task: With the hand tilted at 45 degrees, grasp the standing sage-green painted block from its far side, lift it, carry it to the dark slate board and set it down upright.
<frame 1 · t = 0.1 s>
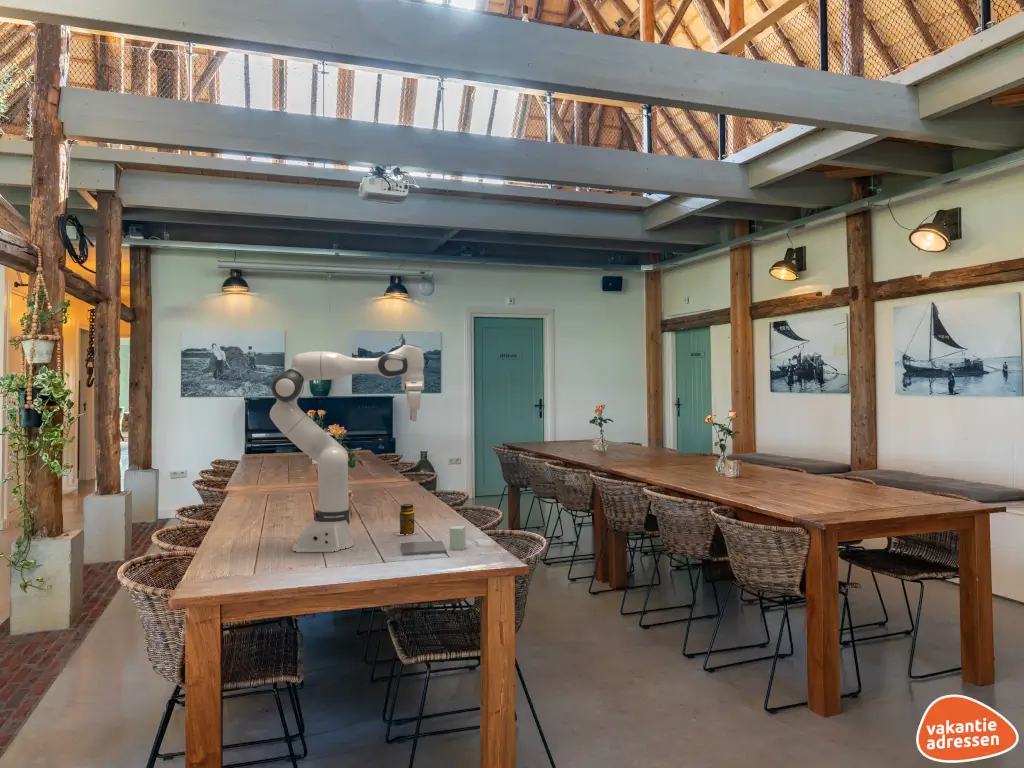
hand: (413, 420, 273), 48 cm above the table, tool pointing down, fingers open, 8 cm apart
condiment: (405, 534, 288), on the table
board: (422, 549, 260), on the table
block: (457, 548, 261), on the table
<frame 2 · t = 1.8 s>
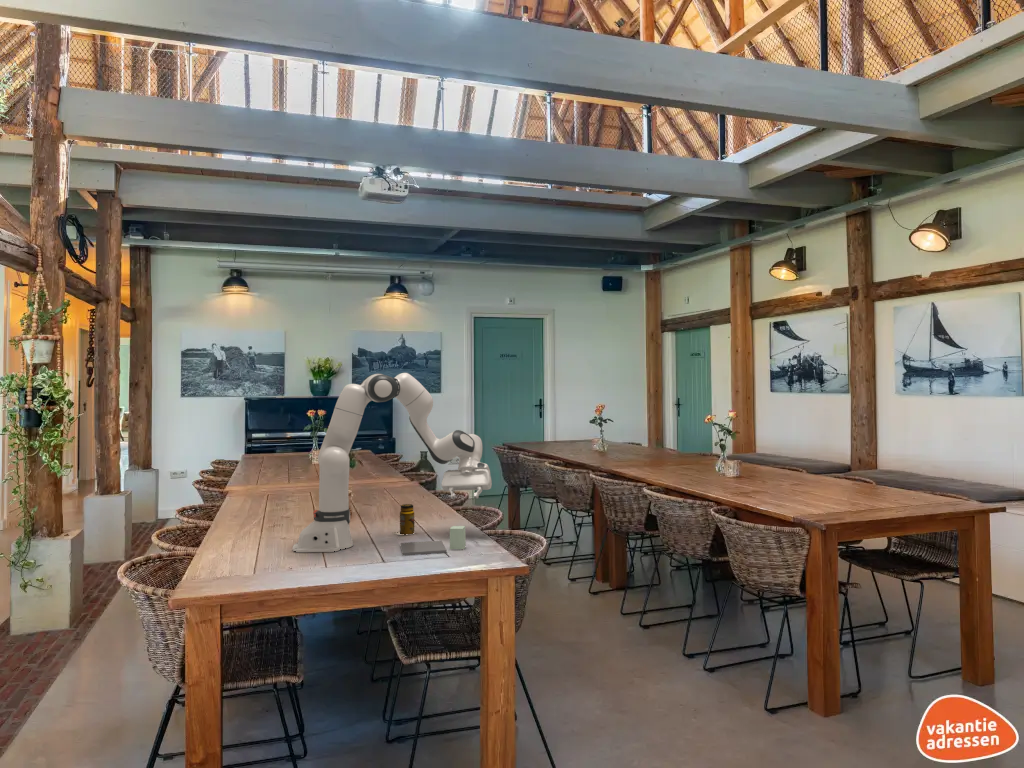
hand: (464, 497, 273), 17 cm above the table, tool tilted 45°, fingers open, 8 cm apart
nothing on the table moved.
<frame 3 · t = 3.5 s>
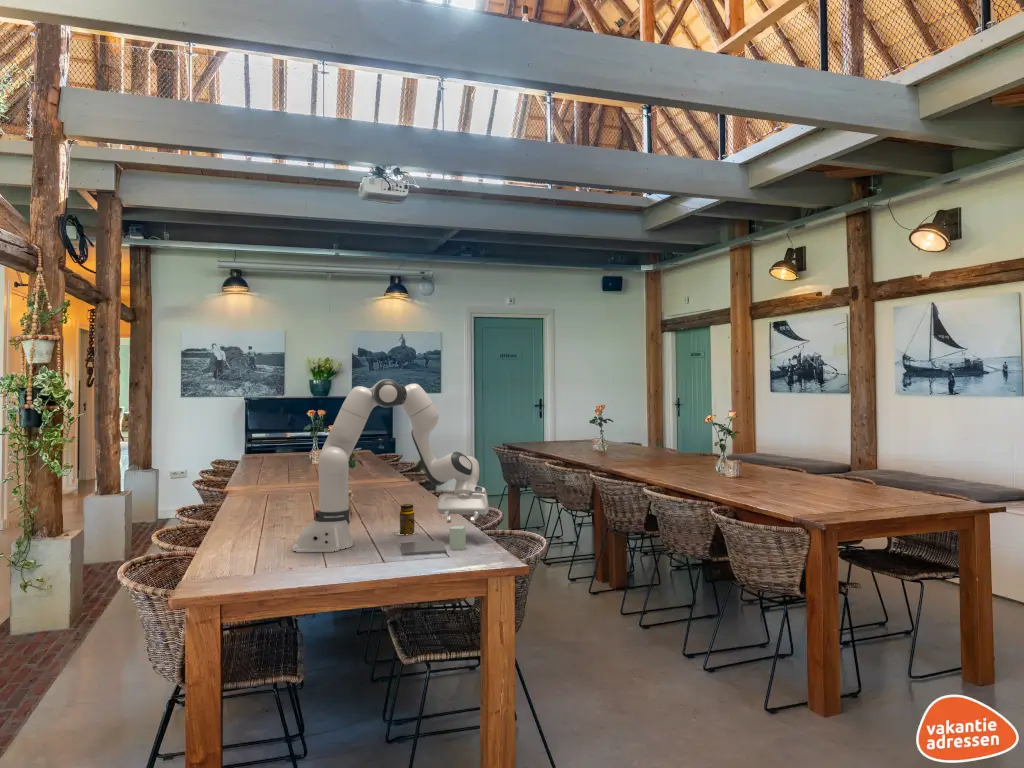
hand: (460, 522, 266), 9 cm above the table, tool tilted 45°, fingers open, 8 cm apart
nothing on the table moved.
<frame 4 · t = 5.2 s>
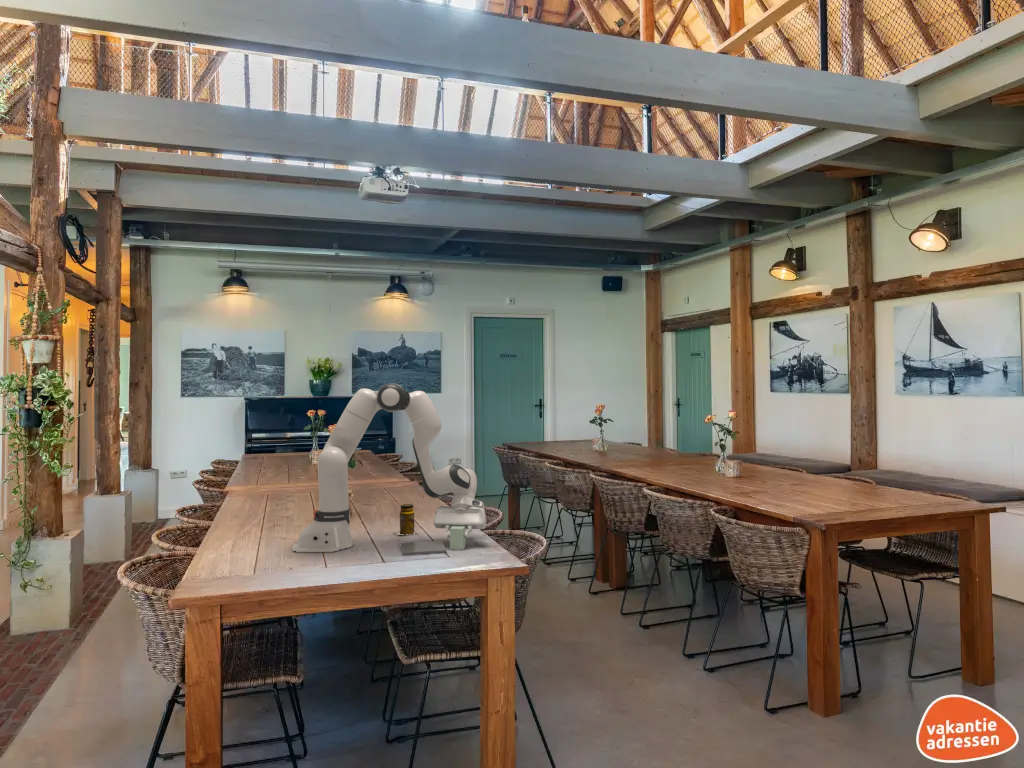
hand: (457, 537, 261), 4 cm above the table, tool tilted 45°, fingers closed on block, 5 cm apart
block: (457, 548, 261), on the table, touching gripper
everything else where it was.
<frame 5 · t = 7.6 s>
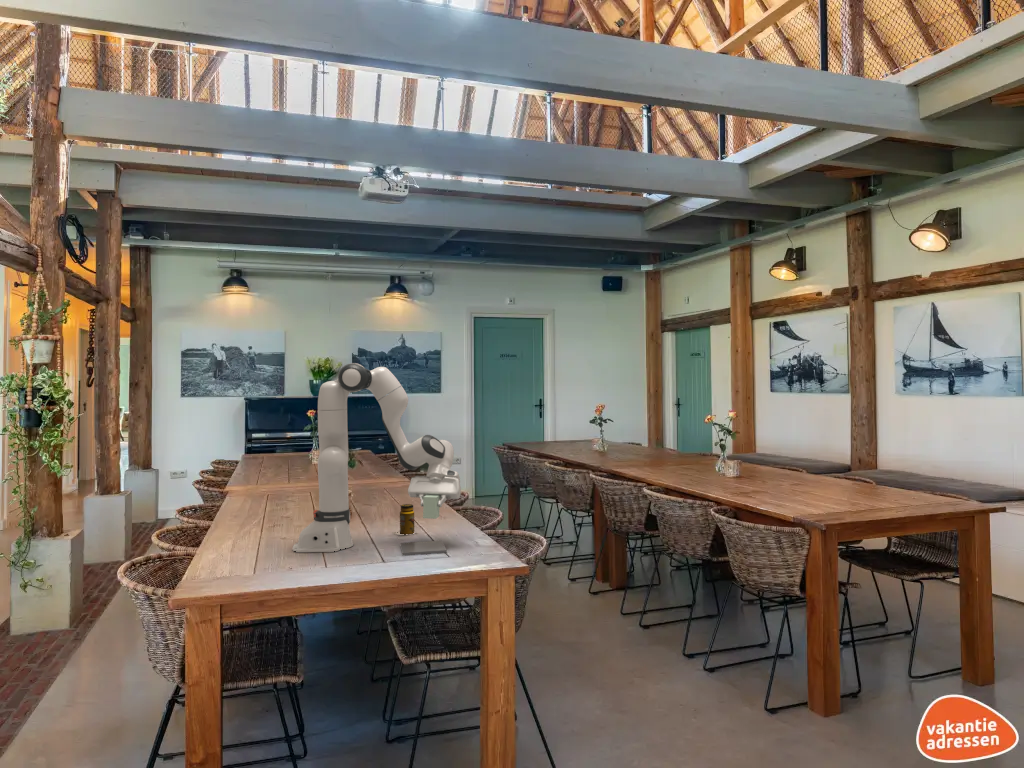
hand: (430, 505, 260), 16 cm above the table, tool tilted 45°, fingers closed on block, 5 cm apart
block: (431, 517, 260), point 12 cm above the table, touching gripper
everything else where it was.
when the fingers open (7 cm above the table, at t = 10.3 s): block drops 1 cm, resting on board.
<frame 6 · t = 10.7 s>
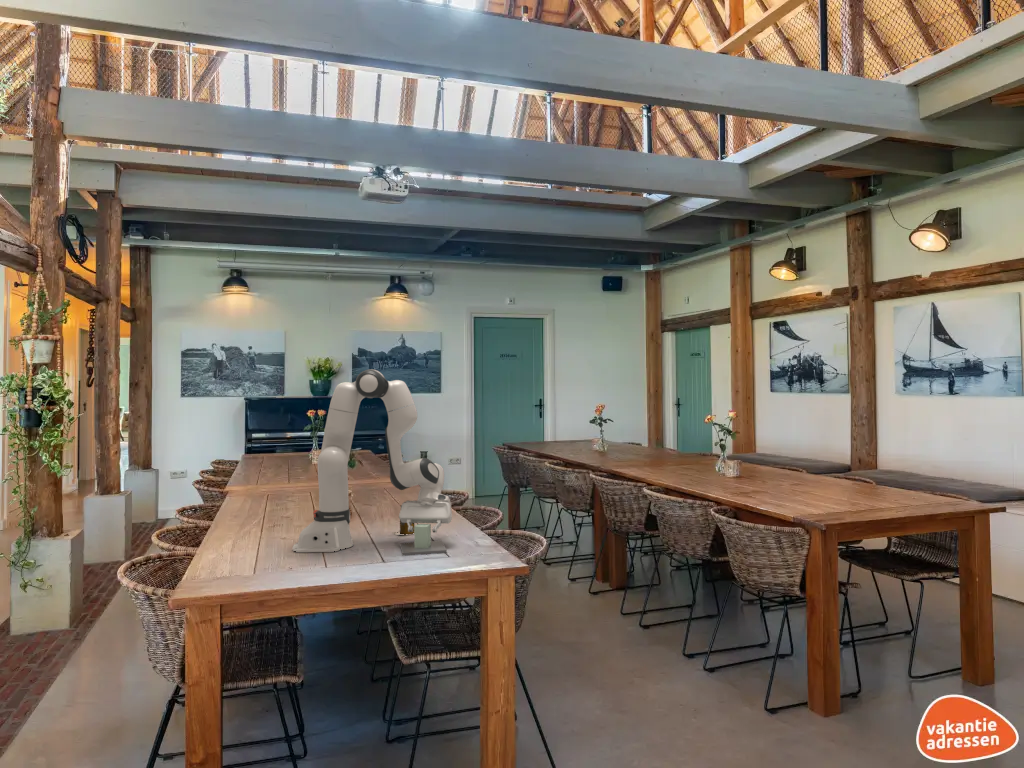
hand: (422, 531, 260), 7 cm above the table, tool tilted 45°, fingers open, 8 cm apart
block: (422, 546, 260), point 1 cm above the table, touching board
everything else where it was.
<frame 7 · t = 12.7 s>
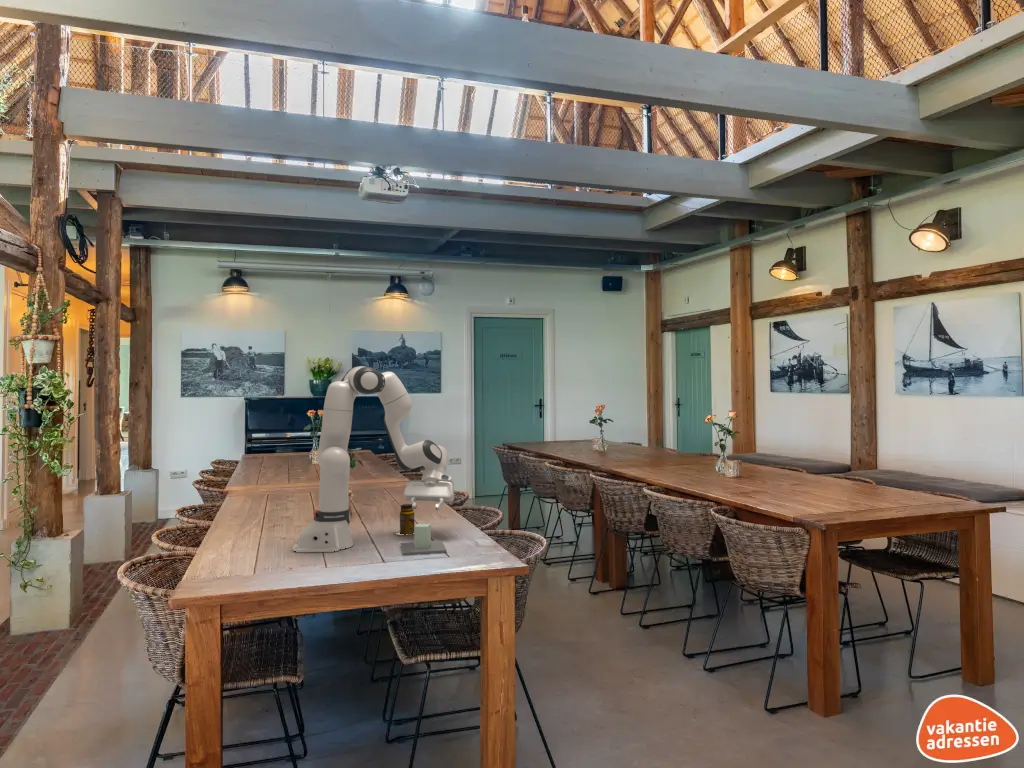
hand: (425, 508, 273), 13 cm above the table, tool tilted 45°, fingers open, 8 cm apart
nothing on the table moved.
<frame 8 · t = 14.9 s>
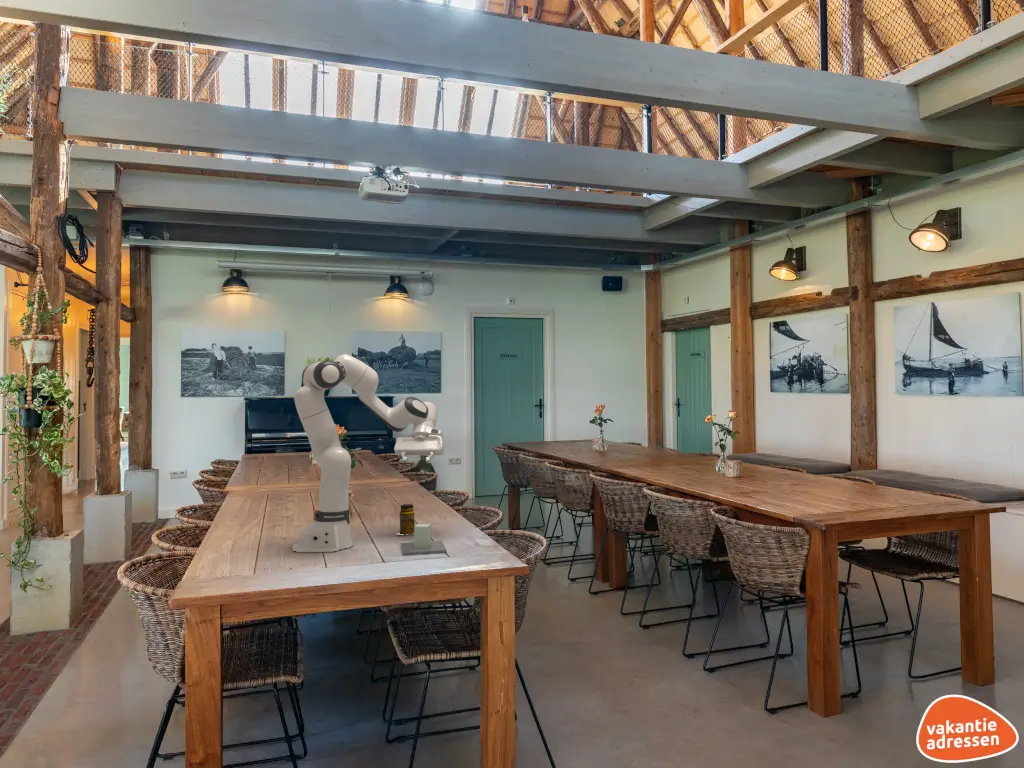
hand: (416, 462, 274), 31 cm above the table, tool tilted 45°, fingers open, 8 cm apart
nothing on the table moved.
at the end: block inside the target area on the board (0.0 cm from its centre), point 1.0 cm above the board's base; block tilted 0°; the gripper is holding nothing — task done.
